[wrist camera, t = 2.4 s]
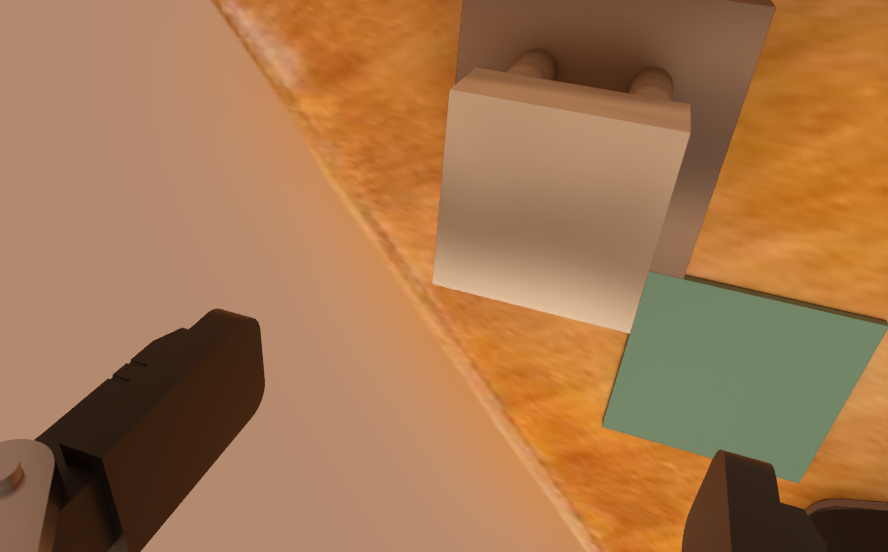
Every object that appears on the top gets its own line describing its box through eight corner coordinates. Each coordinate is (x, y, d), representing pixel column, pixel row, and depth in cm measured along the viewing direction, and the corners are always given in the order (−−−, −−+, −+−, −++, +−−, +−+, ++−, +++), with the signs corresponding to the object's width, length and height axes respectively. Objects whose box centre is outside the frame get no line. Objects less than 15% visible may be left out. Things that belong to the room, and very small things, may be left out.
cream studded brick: (514, 35, 22) (449, 89, 16) (689, 63, 21) (691, 132, 15) (493, 190, 26) (432, 283, 20) (644, 222, 24) (629, 333, 18)
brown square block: (494, -44, 25) (465, -35, 22) (763, -10, 23) (775, 7, 20) (468, 188, 30) (442, 223, 27) (684, 234, 28) (683, 279, 25)
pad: (649, 267, 30) (649, 271, 29) (886, 321, 27) (889, 326, 27) (602, 421, 35) (602, 426, 35) (797, 477, 33) (798, 483, 32)
